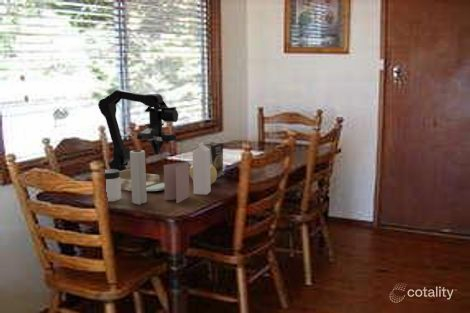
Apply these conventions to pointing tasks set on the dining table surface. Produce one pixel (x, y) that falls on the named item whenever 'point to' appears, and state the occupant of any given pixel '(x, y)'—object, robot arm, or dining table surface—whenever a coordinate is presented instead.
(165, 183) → the greeting card
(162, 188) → the pale grey-green rectangular panel
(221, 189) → the dining table surface
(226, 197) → the dining table surface
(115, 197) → the jar
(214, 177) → the sculpture
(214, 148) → the coffee box
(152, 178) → the beige shallow tray
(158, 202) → the dining table surface
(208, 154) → the milk
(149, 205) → the dining table surface
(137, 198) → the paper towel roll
